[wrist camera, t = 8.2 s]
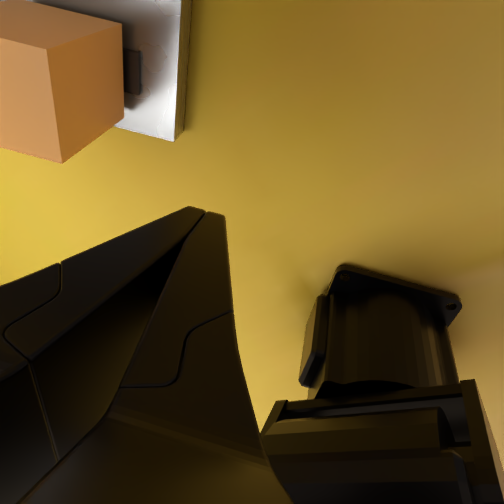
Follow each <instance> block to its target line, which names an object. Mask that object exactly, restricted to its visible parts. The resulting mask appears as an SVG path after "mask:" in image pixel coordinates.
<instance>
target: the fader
mask: <svg viewBox="0 0 504 504" xmlns="http://www.w3.org/2000/svg"><path fill="white" fill-rule="evenodd" d="M123 118H124V87H123V52H122V24H121V23H117V22H113V21H109V20H105V19H101V18H96V17H92V16H88V15H84V14H80V13H76V12H72V11H68V10H64V9H60V8H56V7H51V6H47V5H43V4H39V3H35V2H31V1H27V0H6V1H0V147H1V148H5V149H8V150H12V151H16V152H19V153H23V154H27V155H31V156H34V157H38V158H42V159H46V160H49V161H53V162H57V163H60V164H63V163H64V162H65V161H67V160H68V159H69V158H71V157H72V156H73V155H75V154H76V153H77V152H79V151H80V150H82V149H83V148H84V147H86V146H87V145H88V144H90V143H91V142H92V141H94V140H95V139H96V138H98V137H99V136H100V135H102V134H103V133H104V132H106V131H107V130H108V129H110V128H111V127H113V126H114V125H115V124H117V123H118V122H119V121H121V120H122V119H123Z"/></svg>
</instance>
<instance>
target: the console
mask: <svg viewBox="0 0 504 504" xmlns="http://www.w3.org/2000/svg"><path fill="white" fill-rule="evenodd" d="M0 1H6V0H0ZM27 1H31V2H35V3H39V4H43V5H47V6H51V7H56V8H60V9H64V10H68V11H72V12H76V13H80V14H84V15H88V16H92V17H96V18H101V19H105V20H109V21H113V22H117V23H121V24H122V52H123V87H124V118H123V119H122V120H121V121H119V122H118V123H117V124H115V125H114V126H115V127H118V128H122V129H126V130H130V131H134V132H138V133H142V134H145V135H149V136H153V137H157V138H161V139H165V140H168V141H172V142H174V141H175V140H176V139H177V138H178V137H179V136H180V135H181V134H182V133H183V128H184V113H185V98H186V83H187V68H188V53H189V38H190V24H191V9H192V0H27Z"/></svg>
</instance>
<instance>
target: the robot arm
mask: <svg viewBox="0 0 504 504" xmlns="http://www.w3.org/2000/svg"><path fill="white" fill-rule="evenodd" d="M341 274H348V276H342V275H341ZM449 303H454V304H452V305H447V304H449ZM461 308H462V303H461V300H460V298H459V297H458V296H457V295H455V294H451V293H447V292H444V291H440V290H436V289H433V288H429V287H425V286H422V285H418V284H414V283H411V282H407V281H403V280H400V279H396V278H392V277H389V276H385V275H381V274H378V273H374V272H370V271H367V270H363V269H359V268H356V267H352V266H348V265H342V266H339V267H337V269H336V270H335V273H334V275H333V278H332V280H331V283H330V285H329V287H328V290H327V292H326V295H323V294H322V295H320V296H318V297H317V299H316V302H315V304H314V307H313V309H312V312H311V314H310V317H309V320H308V322H307V325H306V331H305V338H304V345H303V352H302V359H301V366H300V372H299V379H298V380H299V382H300V384H301V386H304V387H308V388H309V390H308V399H307V400H299V401H288V400H280V401H276V402H275V404H274V406H273V408H272V410H271V412H270V414H269V416H268V418H267V421H266V423H265V425H264V427H263V429H262V431H261V433H260V432H259V429H258V425H257V421H256V418H255V414H254V410H253V406H252V403H251V399H250V395H249V391H248V388H247V384H246V380H245V376H244V373H243V368H242V364H241V359H240V355H239V350H238V344H237V337H236V329H235V319H234V314H233V313H234V310H233V298H232V287H231V276H230V265H229V253H228V242H227V231H226V220H225V216H224V215H221V214H218V213H214V212H207V213H206V211H205V210H203V209H199V208H195V207H192V206H188V207H185V208H183V209H180V210H178V211H176V212H173V213H171V214H169V215H166V216H164V217H162V218H160V219H157V220H155V221H153V222H150V223H148V224H146V225H143V226H141V227H139V228H136V229H134V230H132V231H129V232H127V233H125V234H123V235H120V236H118V237H116V238H113V239H111V240H109V241H106V242H104V243H102V244H99V245H97V246H95V247H93V248H90V249H88V250H86V251H83V252H81V253H79V254H76V255H74V256H72V257H69V258H67V259H65V260H63V261H61V263H55V264H53V265H51V266H48V267H46V268H44V269H41V270H39V271H37V272H34V273H32V274H29V275H27V276H24V277H22V278H19V279H17V280H14V281H12V282H9V283H6V284H4V285H1V286H0V504H504V471H503V468H502V464H501V461H500V457H499V453H498V450H497V446H496V443H495V440H494V437H493V433H492V430H491V427H490V424H489V421H488V418H487V415H486V412H485V409H484V406H483V403H482V400H481V397H480V394H479V390H478V387H477V384H476V381H475V379H471V380H462V381H460V382H459V378H458V373H457V369H456V364H455V360H454V355H453V351H452V346H451V342H450V337H449V333H448V326H449V325H450V324H451V322H452V321H453V320H454V318H455V317H456V316H457V314H458V313H459V311H460V310H461Z"/></svg>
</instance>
